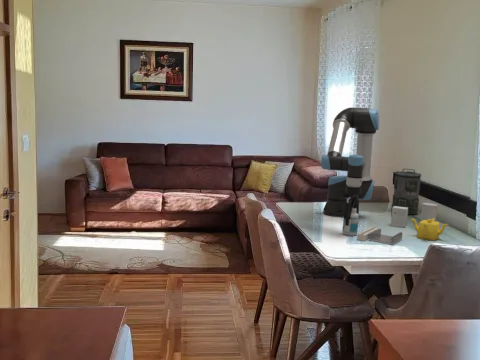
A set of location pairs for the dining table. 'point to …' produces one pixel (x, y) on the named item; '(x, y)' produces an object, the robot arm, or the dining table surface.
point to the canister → (407, 190)
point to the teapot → (428, 229)
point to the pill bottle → (352, 224)
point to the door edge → (365, 234)
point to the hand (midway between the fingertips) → (349, 230)
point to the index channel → (384, 237)
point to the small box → (399, 216)
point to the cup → (428, 211)
